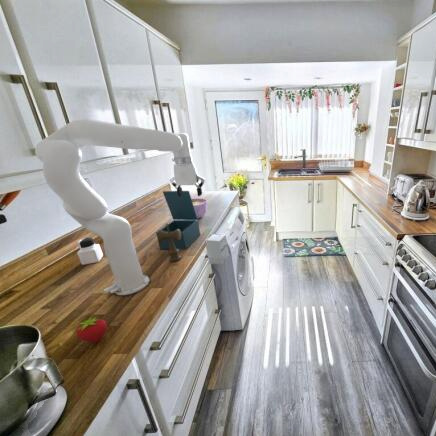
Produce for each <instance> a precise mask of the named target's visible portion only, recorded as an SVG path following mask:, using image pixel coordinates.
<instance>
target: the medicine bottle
mask: <svg viewBox="0 0 436 436" xmlns="http://www.w3.org/2000/svg"><path fill="white" fill-rule="evenodd" d="M77 245H78V247H79V250H78V251H77V252H76V254H77V257H78V259H79V261H80V264H81V265H82V266H85V265H90V264H95V263H99V262H100V261H101V259H102V258H103V257H104V254H103V250H102V248H101V245H100V243H96V242H95V240H94V238H93V237H84V238H81V239H79V240H78V241H77Z"/></svg>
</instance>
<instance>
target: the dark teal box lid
mask: <svg viewBox="0 0 436 436" xmlns="http://www.w3.org/2000/svg"><path fill="white" fill-rule="evenodd" d="M182 192H183V195H182V196H180V197H179V195H178V193H177V190H163V191H162V194H163V196H164V199H165V202H166V204H167V208H168V210H169V212H170V214H171V215H170V216H171V217H172V221H173V220H198V219H199V218H197V215H196V212H195V209H194V205H193V202H192V199H193V198H192V195H191V193H190V190H182Z"/></svg>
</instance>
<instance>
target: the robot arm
mask: <svg viewBox="0 0 436 436" xmlns="http://www.w3.org/2000/svg"><path fill="white" fill-rule="evenodd" d="M89 146H95V147H97V146H98V147H105V148H115V149H116V148H117V149H127V150H139V151H140V150H153V151H154V150H156V151H158V152H172V154H173V158H171V161H172V162H173V163H174V164H173V177H172V178H170V179H169V182H170V183H171V185H172V186H173V187H174V188H175V190H176V191H177V193H178V195H179V197H180V196H182V195H183V192H182V191H183V188H182V186H195V187H196V194H197V197H201V196H202V195H203V190H202V187H203V185H204V184H205V183H206V178H205V177H203V176H201V175H199V174H198V170H197V168H196V164H195V162H193V157H192V152H191V146H190V141H189V135H188V134H187V133H185V132H170V131H165V130H164V131H162V130H157V129H151V128H144V127H139V126H134V125H133V126H132V125H125V124H121V123H115V122H109V121H103V120H98V119H90V118H83V119H75V120H71V121H69V122H68V123H66V124H65V125H63V126H62V127H60V128H59V129H57V130H56V131H54V132H52V133H51V134H49V135H48V136H46V137H44V138H43V139H42V140H40V141H39V142H37V144H36V146H35V148H34V154H35V156H36V158H37V159H38V160H39V161H40V162H42V163H43V164H42V175H43V178H44V180H45V183H46V184H47V186H48V188H50V189H51V190H52V191H53V192H54V193H55V195H57V196H58V197H59V198H60V199H61V200H62V207H63V209H64V211H65V212H66V213H67V214H68V215H69V216H70V217H71V218H72V219H73V220H75V221H76V222H77V223H78V224H79V225H80V226H82V227H83V228H84V229H85V230H86V231H88V232H89V233H91V234H92V235H94V236H96V237H99V238H101V239H102V241H103V248H104V253H105V256H106V259H107V261H108V264H109V266H110V269H111V272H112V275H113V278H114V280H112V283H113V284H111V285H110V286H108V287H106V288H104V289H102V292H103V293H104V295H108V294H109V293H110V294H114V293H115V295H118V296H129V295H133V294H136V293H138V292H140V291H142V290H143V289H145V288H146V287H147V286H148V285H149V283H150V278H149V276H148V275H145V274H144V273H143V269H142V267H141V263H140V260H139V256H138V253H137V250H136V247H135V244H134V240H133V232H132V225H131V224H130V222H129V221H128V220H127V219H126V218H124V217H122V216H119V215H116V214H113V213H109V211H108V208H109V207H108V204H107V203H106V201H105V199H103V198H102V196H100V194H98V193H97V191H95V190H94V189H93V188H92V187H91V186H90V185H89V184H88V183H87V182H86V180H85V179H84V178H83V176H82V175H81V173H80V167H81V163H82V160H83V153H82V151H83V150H84V149H85V148H87V147H89Z"/></svg>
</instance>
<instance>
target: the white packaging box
mask: <svg viewBox="0 0 436 436" xmlns="http://www.w3.org/2000/svg"><path fill="white" fill-rule="evenodd" d="M204 241H205V242H204V243H205V247H206V249H205V250H206V253H207V254H206V255H207V259H208V264H209V265H220V266H221V265H224V264H225V262H226V261H227V260H228V259H229V258H230V255H229V247H228V241H227V235H226V234H215V233H214V234H211V235H210V236H209V237H207V238H206V240H204Z"/></svg>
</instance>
